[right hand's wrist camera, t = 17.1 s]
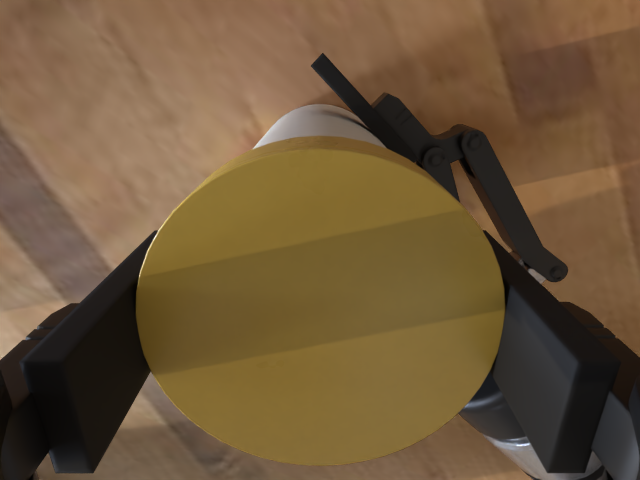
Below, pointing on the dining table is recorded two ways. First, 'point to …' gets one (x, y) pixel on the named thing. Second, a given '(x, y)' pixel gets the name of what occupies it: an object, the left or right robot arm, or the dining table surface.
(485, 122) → the dining table surface
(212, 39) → the dining table surface
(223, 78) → the dining table surface
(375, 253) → the lid
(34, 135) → the dining table surface
